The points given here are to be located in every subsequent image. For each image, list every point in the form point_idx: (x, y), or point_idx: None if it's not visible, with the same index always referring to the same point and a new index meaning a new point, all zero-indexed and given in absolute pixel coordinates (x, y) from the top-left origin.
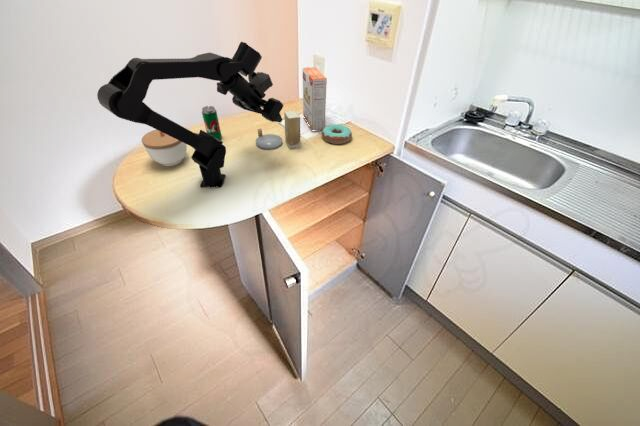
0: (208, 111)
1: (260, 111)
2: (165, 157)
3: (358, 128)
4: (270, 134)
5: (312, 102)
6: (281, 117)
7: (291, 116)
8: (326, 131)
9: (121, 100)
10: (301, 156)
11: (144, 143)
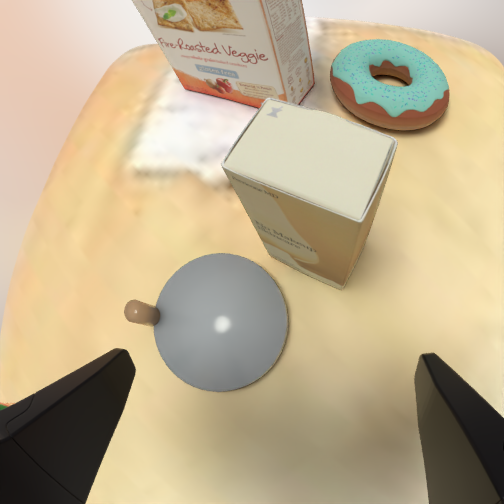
0: None
1: (115, 391)
2: None
3: (372, 28)
4: (177, 272)
5: (261, 8)
6: (462, 378)
7: (346, 179)
8: (384, 95)
9: None
10: (429, 293)
11: None
